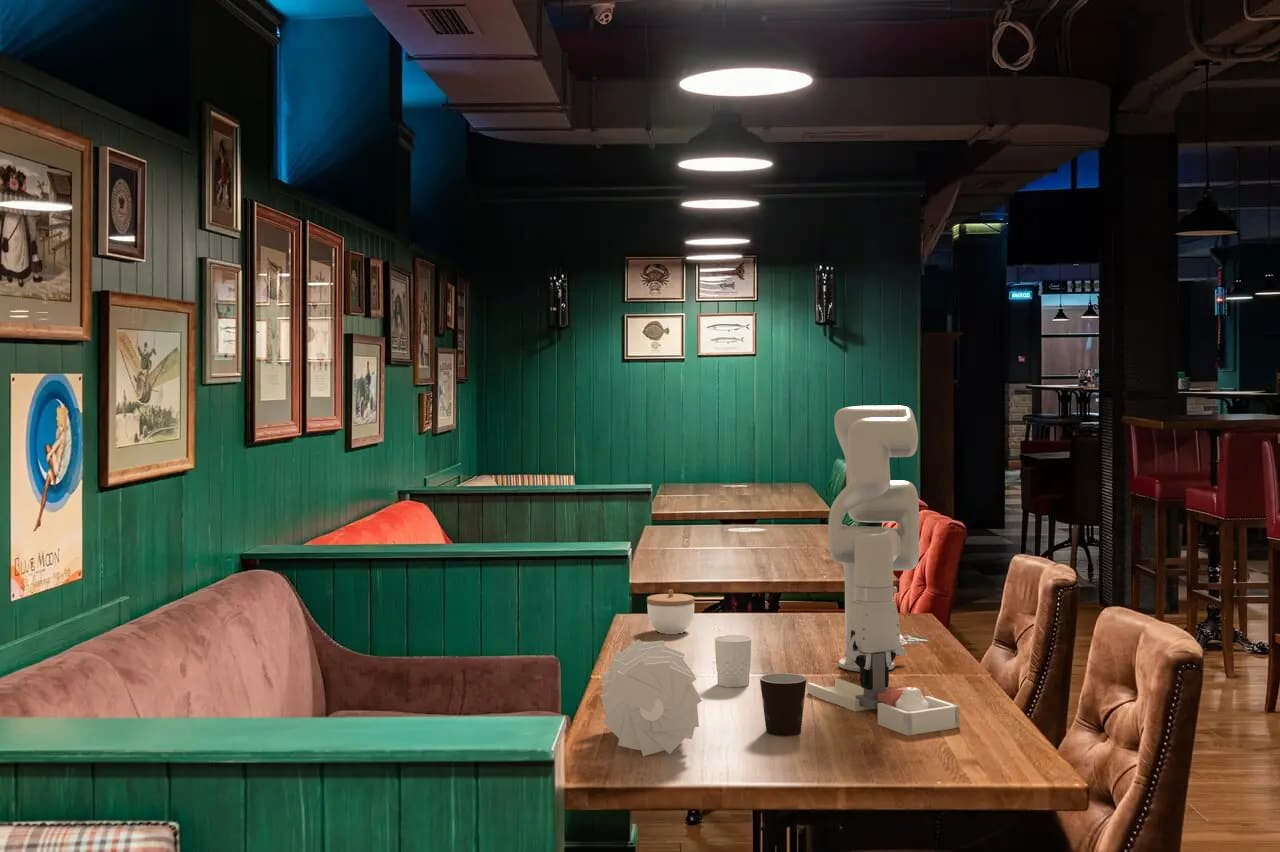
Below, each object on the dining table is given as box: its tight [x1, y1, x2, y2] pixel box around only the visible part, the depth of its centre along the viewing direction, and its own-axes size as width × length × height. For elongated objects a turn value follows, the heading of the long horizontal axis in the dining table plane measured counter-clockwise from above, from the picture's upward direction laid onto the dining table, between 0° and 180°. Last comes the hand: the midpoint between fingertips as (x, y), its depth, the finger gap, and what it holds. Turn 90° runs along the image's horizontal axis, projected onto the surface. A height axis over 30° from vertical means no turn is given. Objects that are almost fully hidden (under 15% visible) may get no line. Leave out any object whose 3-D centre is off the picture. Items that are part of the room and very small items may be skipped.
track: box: [806, 678, 873, 713], centre depth 263 cm, size 8×17×2 cm, turn 26°
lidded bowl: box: [646, 589, 696, 635], centre depth 339 cm, size 13×13×11 cm
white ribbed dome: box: [896, 686, 929, 712], centre depth 244 cm, size 6×6×7 cm
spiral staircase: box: [600, 638, 703, 757], centre depth 233 cm, size 18×18×25 cm
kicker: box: [855, 652, 910, 710], centre depth 252 cm, size 5×12×10 cm, turn 26°
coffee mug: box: [759, 672, 808, 737], centre depth 240 cm, size 12×9×10 cm
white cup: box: [714, 634, 752, 688], centre depth 278 cm, size 8×8×10 cm
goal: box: [877, 695, 960, 736], centre depth 242 cm, size 12×9×4 cm
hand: (874, 686), depth 254 cm, fingers closed on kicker, 3 cm apart
